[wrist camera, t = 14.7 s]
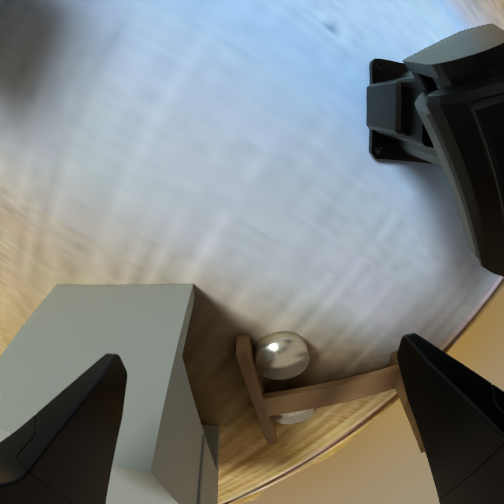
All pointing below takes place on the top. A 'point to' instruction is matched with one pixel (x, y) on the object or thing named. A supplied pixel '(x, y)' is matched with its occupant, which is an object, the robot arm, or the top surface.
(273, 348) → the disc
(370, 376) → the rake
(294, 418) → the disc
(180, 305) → the cabinet
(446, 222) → the top surface
